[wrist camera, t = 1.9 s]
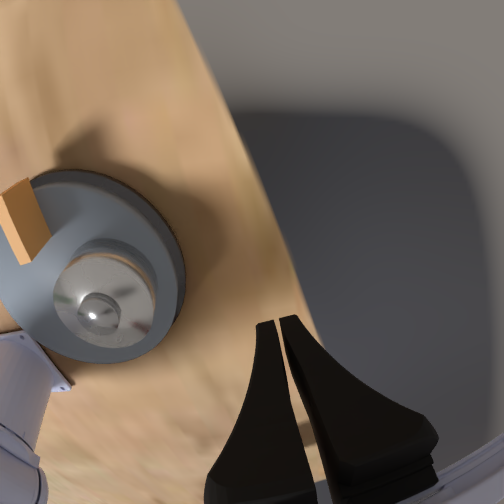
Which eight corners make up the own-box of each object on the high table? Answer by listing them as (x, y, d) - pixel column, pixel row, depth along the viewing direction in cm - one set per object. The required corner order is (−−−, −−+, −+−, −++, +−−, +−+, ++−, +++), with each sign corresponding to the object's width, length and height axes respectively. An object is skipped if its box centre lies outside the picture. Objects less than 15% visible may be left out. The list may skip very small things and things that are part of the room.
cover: (93, 325, 20) (80, 362, 17) (53, 252, 17) (30, 285, 14) (171, 309, 20) (167, 348, 17) (137, 226, 17) (124, 259, 14)
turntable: (203, 336, 23) (205, 380, 19) (54, 361, 23) (41, 397, 19) (131, 134, 16) (110, 148, 12) (-34, 208, 15) (-67, 235, 12)
